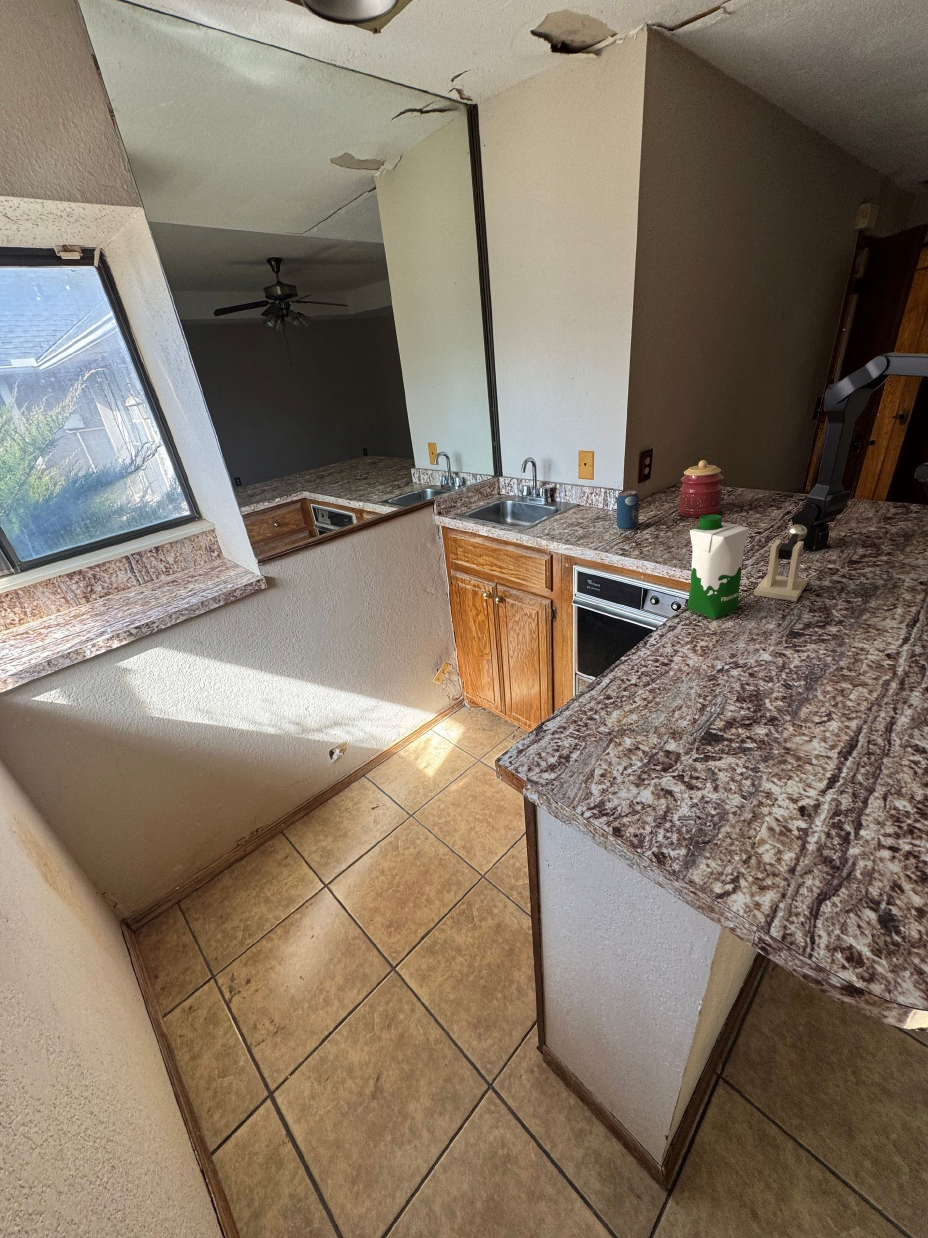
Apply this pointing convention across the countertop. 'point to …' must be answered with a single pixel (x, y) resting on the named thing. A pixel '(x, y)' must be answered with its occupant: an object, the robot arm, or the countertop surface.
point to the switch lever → (792, 541)
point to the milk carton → (716, 566)
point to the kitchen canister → (701, 490)
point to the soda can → (627, 510)
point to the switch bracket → (782, 585)
